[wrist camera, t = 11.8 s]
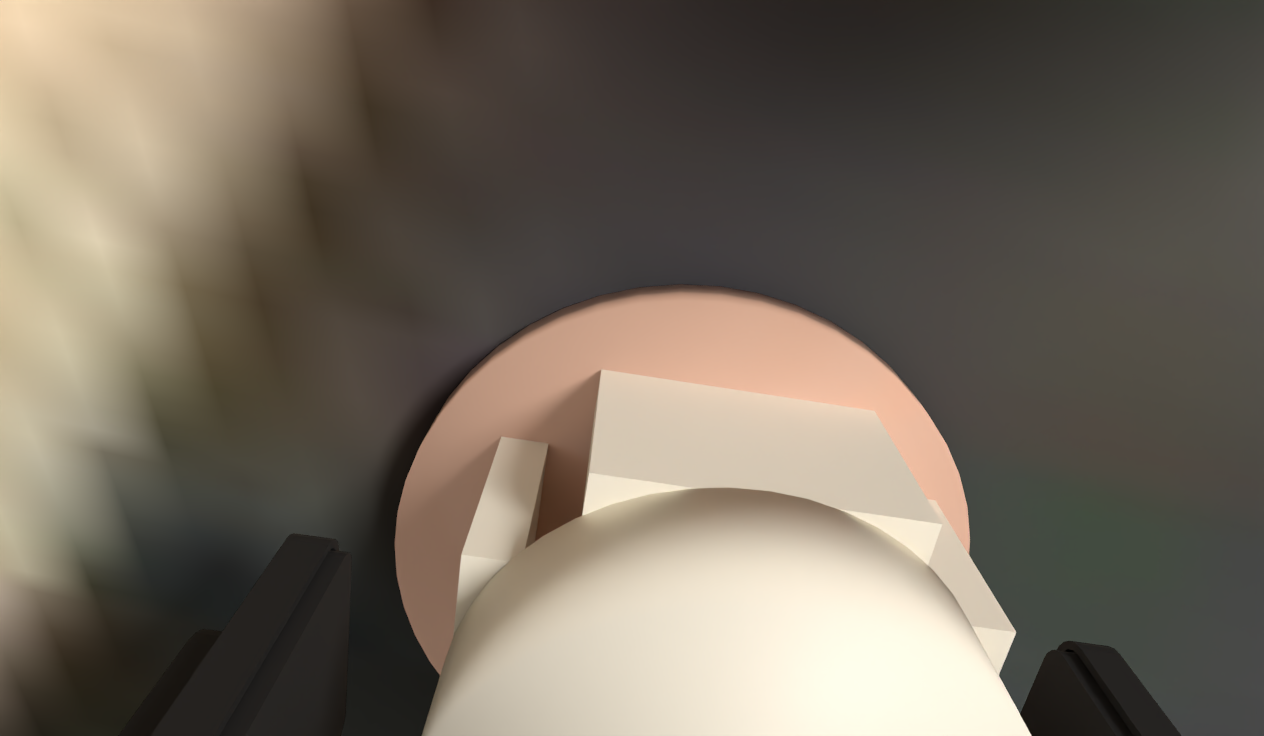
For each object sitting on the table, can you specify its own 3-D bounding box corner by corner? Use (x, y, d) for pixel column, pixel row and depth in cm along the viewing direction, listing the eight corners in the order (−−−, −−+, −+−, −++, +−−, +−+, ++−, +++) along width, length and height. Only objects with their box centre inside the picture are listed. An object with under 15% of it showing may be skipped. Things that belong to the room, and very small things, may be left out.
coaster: (561, 171, 12) (557, 182, 11) (1068, 452, 13) (1093, 478, 13) (326, 627, 15) (310, 658, 14) (762, 813, 16) (768, 850, 16)
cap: (970, 418, 12) (1256, 765, 7) (851, 764, 15) (982, 1231, 9) (503, 348, 12) (376, 646, 6) (464, 714, 15) (347, 1166, 9)
